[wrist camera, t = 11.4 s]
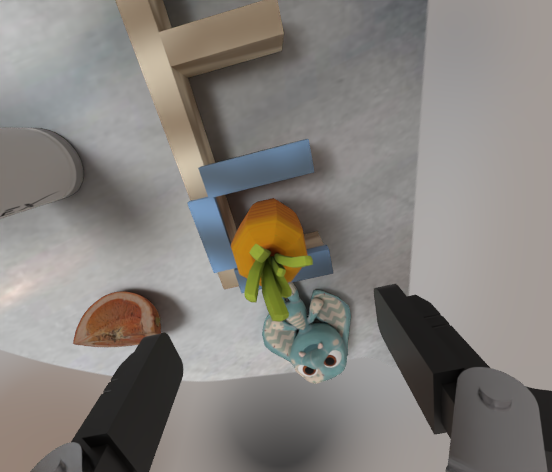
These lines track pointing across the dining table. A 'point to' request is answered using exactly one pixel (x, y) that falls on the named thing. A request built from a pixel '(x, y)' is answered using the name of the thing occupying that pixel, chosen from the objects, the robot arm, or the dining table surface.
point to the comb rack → (189, 128)
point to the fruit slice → (118, 321)
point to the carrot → (270, 253)
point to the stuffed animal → (311, 335)
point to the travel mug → (35, 169)
